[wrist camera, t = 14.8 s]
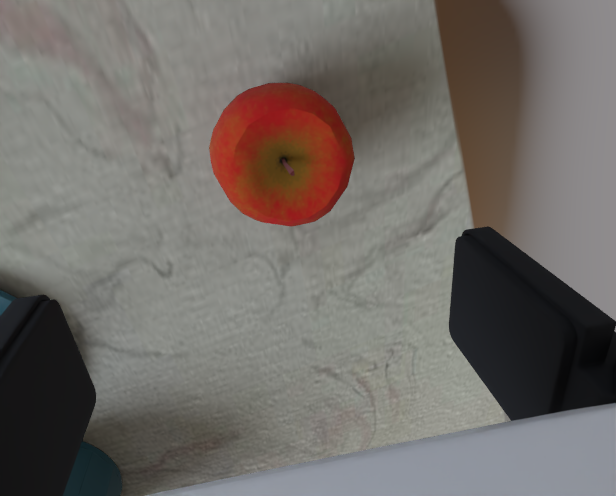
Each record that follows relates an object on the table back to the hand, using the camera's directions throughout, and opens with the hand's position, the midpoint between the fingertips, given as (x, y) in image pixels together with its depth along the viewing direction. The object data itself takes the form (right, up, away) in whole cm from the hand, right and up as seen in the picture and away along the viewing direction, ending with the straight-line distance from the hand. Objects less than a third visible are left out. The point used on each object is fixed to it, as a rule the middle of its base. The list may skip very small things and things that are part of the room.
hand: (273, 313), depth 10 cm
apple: (-1, +8, +14) cm, 16 cm away
